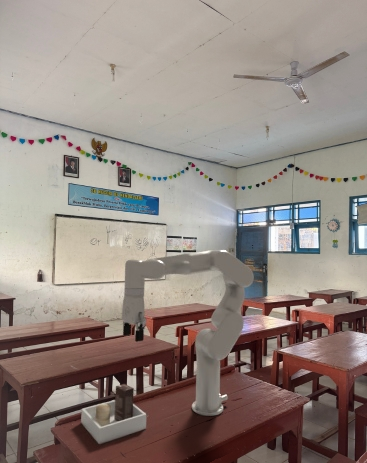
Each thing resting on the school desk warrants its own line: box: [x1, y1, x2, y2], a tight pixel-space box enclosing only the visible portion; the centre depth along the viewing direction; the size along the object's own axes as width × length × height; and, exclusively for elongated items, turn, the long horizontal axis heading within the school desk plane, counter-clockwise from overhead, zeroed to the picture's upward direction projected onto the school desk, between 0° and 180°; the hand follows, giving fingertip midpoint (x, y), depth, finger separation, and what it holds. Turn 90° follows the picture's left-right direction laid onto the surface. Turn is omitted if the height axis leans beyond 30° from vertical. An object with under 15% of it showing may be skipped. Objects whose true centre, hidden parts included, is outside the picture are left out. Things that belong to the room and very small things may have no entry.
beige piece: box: [95, 403, 111, 427], centre depth 121 cm, size 5×5×7 cm
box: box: [114, 383, 135, 422], centre depth 127 cm, size 6×4×12 cm
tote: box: [80, 399, 147, 445], centre depth 124 cm, size 18×17×5 cm
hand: (133, 338), depth 129 cm, fingers open, 9 cm apart
